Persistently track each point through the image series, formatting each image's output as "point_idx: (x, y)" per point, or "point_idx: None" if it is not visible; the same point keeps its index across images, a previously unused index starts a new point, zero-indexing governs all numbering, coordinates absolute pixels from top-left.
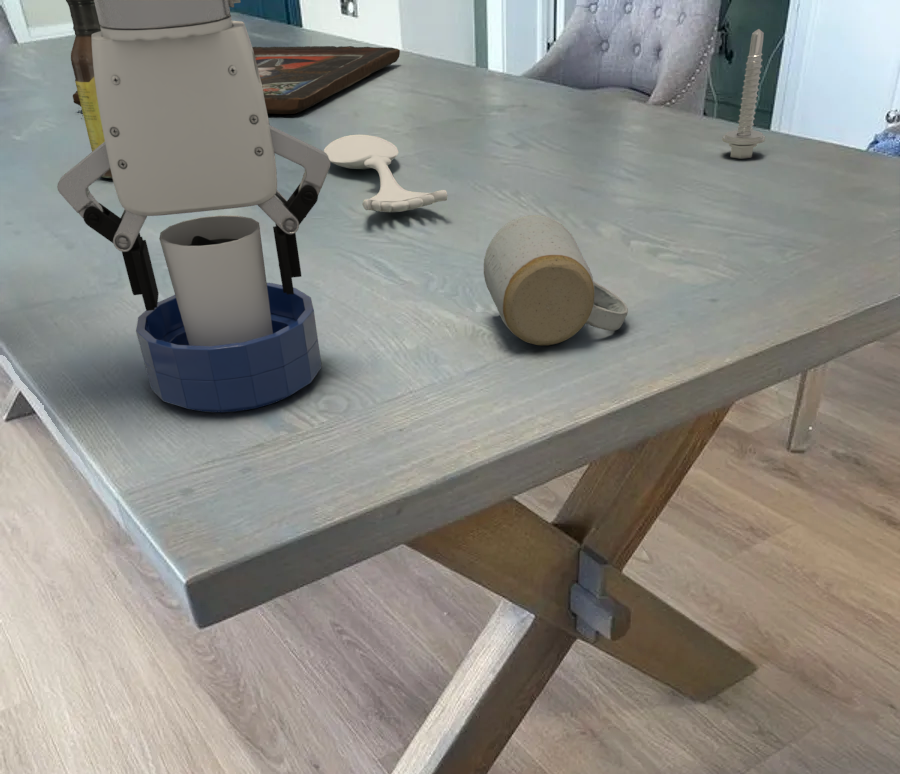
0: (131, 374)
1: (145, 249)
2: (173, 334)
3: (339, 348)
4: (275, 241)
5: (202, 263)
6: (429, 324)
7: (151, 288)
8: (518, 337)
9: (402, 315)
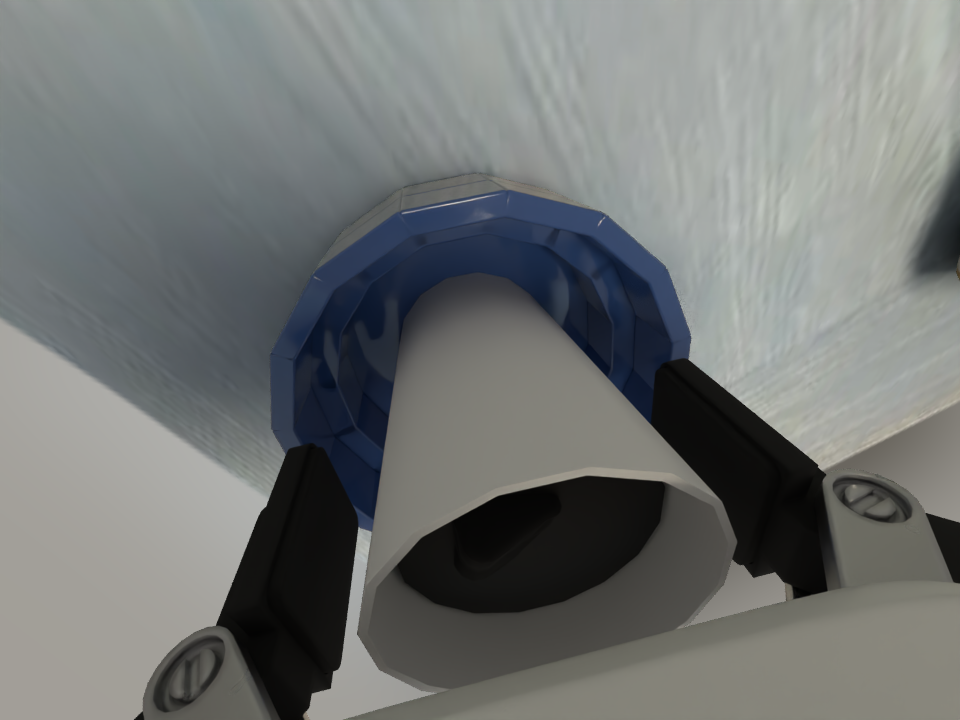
0: (234, 303)
1: (311, 618)
2: (331, 326)
3: (659, 215)
4: (734, 560)
5: (520, 636)
6: (870, 98)
7: (352, 565)
8: (957, 269)
9: (845, 12)
